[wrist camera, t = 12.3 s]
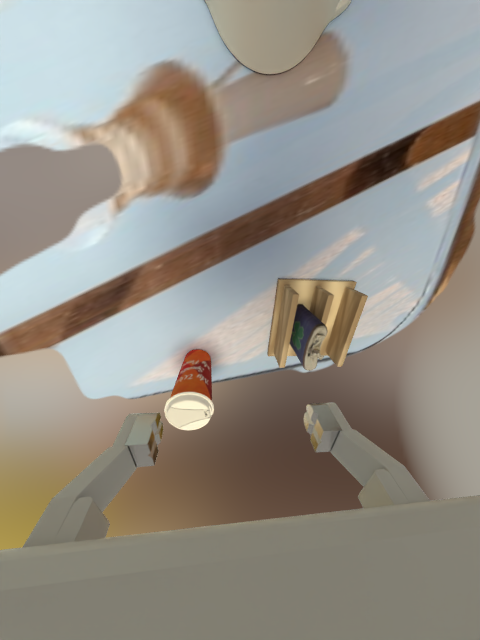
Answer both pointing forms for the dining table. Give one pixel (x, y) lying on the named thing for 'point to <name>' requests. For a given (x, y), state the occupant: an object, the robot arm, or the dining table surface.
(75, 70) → the dining table surface
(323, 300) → the rack
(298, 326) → the flask
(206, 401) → the paper cup
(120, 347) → the dining table surface
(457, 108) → the dining table surface
